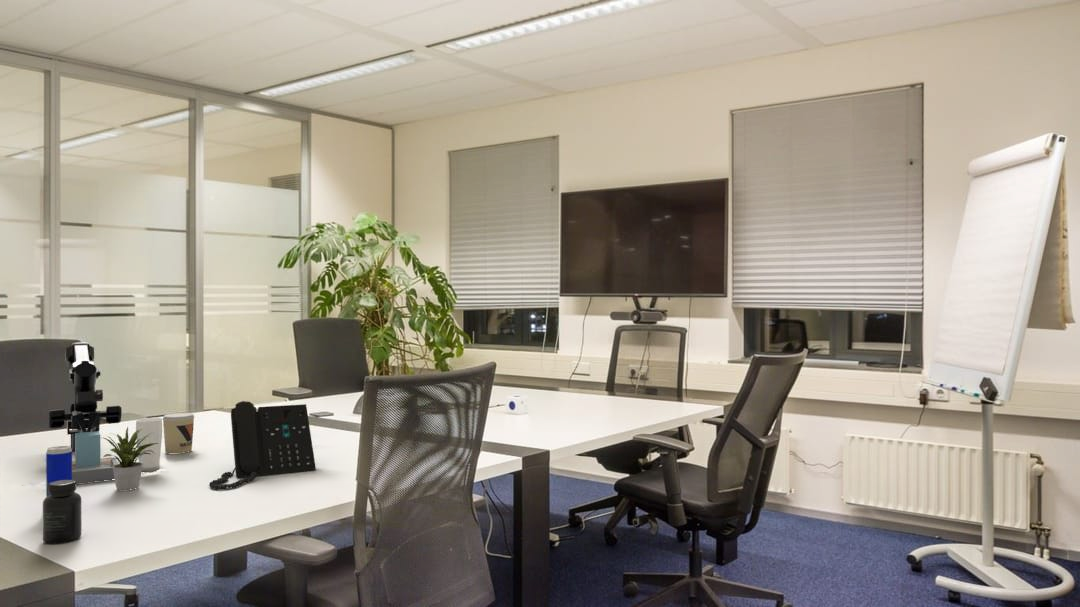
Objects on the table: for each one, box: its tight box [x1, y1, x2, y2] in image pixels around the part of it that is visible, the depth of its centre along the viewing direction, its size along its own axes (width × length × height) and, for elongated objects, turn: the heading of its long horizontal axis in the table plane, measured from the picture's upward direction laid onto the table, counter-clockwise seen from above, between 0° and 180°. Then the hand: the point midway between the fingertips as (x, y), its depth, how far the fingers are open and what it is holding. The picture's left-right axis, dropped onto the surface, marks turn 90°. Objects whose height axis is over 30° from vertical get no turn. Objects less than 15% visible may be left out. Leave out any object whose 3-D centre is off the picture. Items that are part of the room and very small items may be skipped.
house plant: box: [99, 426, 158, 491], centre depth 197 cm, size 14×14×16 cm
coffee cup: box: [162, 412, 195, 454], centre depth 246 cm, size 9×9×12 cm
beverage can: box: [45, 445, 73, 498], centre depth 178 cm, size 5×5×15 cm
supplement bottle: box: [42, 480, 83, 545], centre depth 157 cm, size 7×7×12 cm
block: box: [74, 430, 101, 469], centre depth 220 cm, size 7×6×9 cm
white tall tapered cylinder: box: [135, 417, 163, 473], centre depth 218 cm, size 7×7×15 cm
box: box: [72, 457, 119, 485], centre depth 211 cm, size 14×13×4 cm
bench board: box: [72, 456, 112, 470], centre depth 221 cm, size 11×13×2 cm
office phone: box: [208, 400, 317, 491], centre depth 215 cm, size 29×28×20 cm
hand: (87, 439), depth 223 cm, fingers closed
